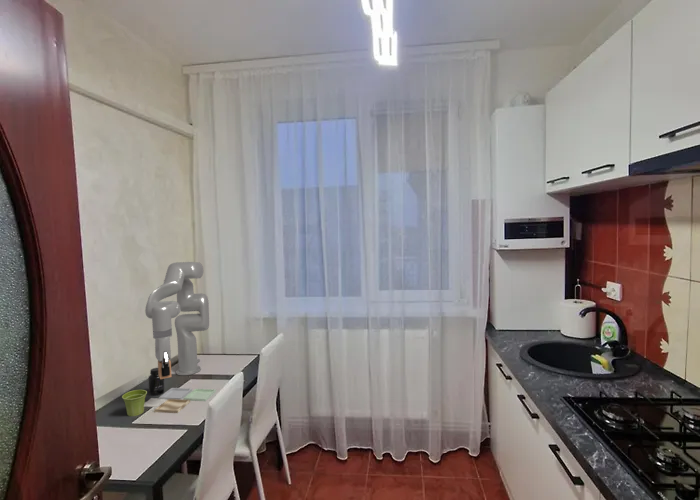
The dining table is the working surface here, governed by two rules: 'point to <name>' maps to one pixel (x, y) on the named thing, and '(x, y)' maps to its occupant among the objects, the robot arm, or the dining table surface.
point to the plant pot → (134, 402)
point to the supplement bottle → (155, 383)
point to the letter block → (161, 370)
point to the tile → (154, 402)
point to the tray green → (200, 394)
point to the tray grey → (176, 393)
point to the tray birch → (172, 406)
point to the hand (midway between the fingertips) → (164, 373)
